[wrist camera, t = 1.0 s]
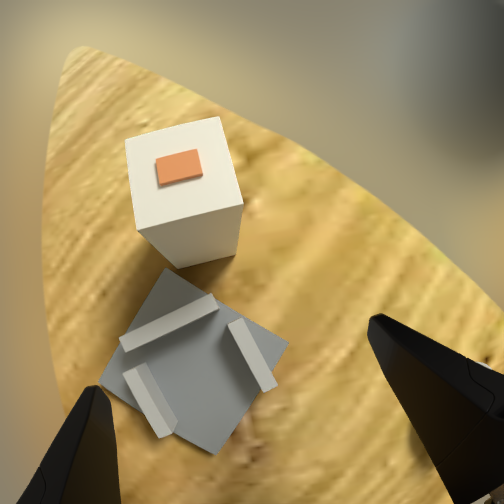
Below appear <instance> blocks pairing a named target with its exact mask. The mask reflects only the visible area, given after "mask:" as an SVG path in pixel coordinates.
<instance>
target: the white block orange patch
mask: <svg viewBox="0 0 504 504" xmlns="http://www.w3.org/2000/svg"><path fill="white" fill-rule="evenodd" d="M125 147H126V156H127V165H128V173H129V181H130V188H131V196H132V202H133V209H134V215H135V221H136V227H137V231H138V232H139V233H140V234H141V235H142V236H143V237H144V238H145V239H146V240H148V241H149V242H150V243H151V244H152V245H153V246H154V247H155V248H156V249H157V250H158V251H159V252H160V253H161V254H162V255H163V256H164V257H165V258H166V259H167V260H168V261H170V262H171V263H172V264H173V265H174V266H175V267H176V268H177V269H180V268H184V267H188V266H192V265H196V264H200V263H204V262H208V261H212V260H216V259H220V258H224V257H228V256H232V255H236V251H237V244H238V237H239V230H240V224H241V217H242V210H243V200H242V196H241V193H240V189H239V185H238V182H237V178H236V175H235V171H234V167H233V164H232V160H231V157H230V153H229V150H228V146H227V142H226V139H225V135H224V132H223V128H222V124H221V121H220V117H219V116H218V117H213V118H208V119H203V120H198V121H194V122H189V123H185V124H181V125H177V126H173V127H169V128H165V129H161V130H157V131H153V132H149V133H146V134H142V135H139V136H135V137H132V138H128V139H125Z"/></svg>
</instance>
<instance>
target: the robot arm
mask: <svg viewBox="0 0 504 504" xmlns="http://www.w3.org/2000/svg"><path fill="white" fill-rule="evenodd" d="M367 336H368V340H369V342H370V345H371V347H372V349H373V351H374V353H375V356H376V358H377V360H378V362H379V365H380V367H381V369H382V371H383V374H384V376H385V378H386V379H387V381H388V383H389V385H390V386H391V388H392V390H393V392H394V393H395V395H396V397H397V399H398V400H399V402H400V404H401V405H402V407H403V409H404V411H405V413H406V414H407V416H408V418H409V420H410V421H411V423H412V425H413V427H414V429H415V430H416V432H417V434H418V436H419V438H420V439H421V441H422V443H423V445H424V447H425V449H426V450H427V452H428V454H429V456H430V458H431V460H432V462H433V464H434V465H435V467H436V470H437V471H438V473H439V475H440V477H441V479H442V481H443V483H444V485H445V487H446V489H447V491H448V493H449V495H450V497H451V499H452V501H453V503H454V504H471V503H473V502H475V501H477V500H478V499H480V498H482V497H484V496H485V495H487V494H490V496H491V497H490V498H489V499H488V500H486V501H485V502H484V504H504V375H503V374H501V373H498V372H496V371H494V370H491V369H489V368H487V367H485V366H483V365H481V364H479V363H477V362H475V361H473V360H471V359H469V358H466V357H465V356H463V355H461V354H459V353H457V352H455V351H454V350H452V349H450V348H448V347H446V346H444V345H442V344H440V343H438V342H436V341H434V340H433V339H431V338H429V337H427V336H425V335H423V334H421V333H419V332H417V331H415V330H413V329H411V328H410V327H408V326H406V325H404V324H402V323H400V322H398V321H396V320H394V319H392V318H390V317H388V316H386V315H385V314H382V313H380V314H377V315H374V316H372V317H370V319H369V326H368V332H367ZM16 504H121V497H120V487H119V475H118V461H117V445H116V437H115V430H114V423H113V416H112V408H111V402H110V400H109V398H108V397H107V396H106V394H105V393H104V392H103V391H102V389H101V388H100V387H99V386H97V385H92V386H87V387H86V388H85V389H84V391H83V392H82V394H81V395H80V397H79V399H78V400H77V402H76V404H75V405H74V407H73V408H72V410H71V412H70V413H69V415H68V417H67V418H66V420H65V422H64V424H63V425H62V427H61V428H60V430H59V432H58V434H57V435H56V437H55V439H54V440H53V442H52V444H51V446H50V447H49V449H48V451H47V453H46V454H45V456H44V458H43V460H42V461H41V463H40V467H38V469H37V471H36V472H35V474H34V476H33V478H32V479H31V481H30V483H29V485H28V486H27V488H26V489H25V491H24V492H23V494H22V496H21V497H20V499H19V500H18V502H17V503H16Z"/></svg>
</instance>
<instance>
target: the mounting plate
mask: <svg viewBox="0 0 504 504" xmlns="http://www.w3.org/2000/svg"><path fill="white" fill-rule="evenodd" d="M119 340H120V344H119V345H118V347H117V349H116V351H115V352H114V354H113V356H112V358H111V359H110V361H109V363H108V365H107V367H106V368H105V370H104V372H103V374H102V376H101V378H100V379H99V381H98V382H99V383H100V384H101V385H103V386H104V387H105V388H107V389H108V390H109V391H111V392H112V393H113V394H115V395H116V396H118V397H119V398H120V399H122V400H123V401H125V402H126V403H128V404H129V405H131V406H132V407H134V408H135V409H137V410H138V411H140V412H141V413H143V414H144V415H145V416H146V418H147V420H148V421H149V423H150V425H151V426H152V428H153V430H154V431H155V433H156V435H157V436H158V438H162V437H165V436H167V435H170V434H172V433H173V432H174V433H175V434H177V435H179V436H181V437H182V438H184V439H186V440H188V441H190V442H191V443H193V444H195V445H197V446H199V447H201V448H203V449H205V450H206V451H208V452H210V453H212V454H214V455H217V454H218V452H219V451H220V449H221V448H222V446H223V445H224V444H225V442H226V441H227V439H228V438H229V436H230V435H231V433H232V432H233V431H234V429H235V428H236V426H237V425H238V423H239V422H240V420H241V419H242V417H243V416H244V414H245V413H246V411H247V410H248V408H249V407H250V405H251V403H252V402H253V400H254V399H255V397H256V396H257V394H258V393H259V391H260V389H262V391H263V393H265V392H267V391H269V390H271V389H272V388H274V387H276V386H278V384H277V382H276V380H275V379H274V377H273V375H272V373H271V372H272V370H273V369H274V367H275V365H276V364H277V362H278V361H279V359H280V357H281V356H282V354H283V352H284V351H285V349H286V347H287V346H288V344H289V342H287V341H286V340H284V339H282V338H280V337H279V336H277V335H275V334H273V333H272V332H270V331H268V330H267V329H265V328H263V327H261V326H260V325H258V324H256V323H255V322H253V321H251V320H250V319H248V318H246V317H244V316H243V315H241V314H239V313H238V312H236V311H235V310H233V309H231V308H230V307H228V306H226V305H225V304H223V303H221V302H220V301H218V300H217V299H215V298H214V296H213V295H212V293H210V294H207V293H205V292H204V291H202V290H200V289H199V288H197V287H196V286H194V285H193V284H191V283H189V282H188V281H186V280H185V279H183V278H182V277H180V276H178V275H177V274H175V273H174V272H172V271H171V270H169V269H168V268H166V267H165V269H164V271H163V272H162V274H161V275H160V277H159V278H158V280H157V282H156V283H155V285H154V287H153V288H152V290H151V291H150V293H149V295H148V296H147V298H146V300H145V301H144V303H143V305H142V306H141V308H140V309H139V311H138V313H137V314H136V316H135V318H134V320H133V321H132V323H131V325H130V326H129V328H128V330H127V331H126V333H125V335H123V336H121V337H119Z"/></svg>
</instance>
